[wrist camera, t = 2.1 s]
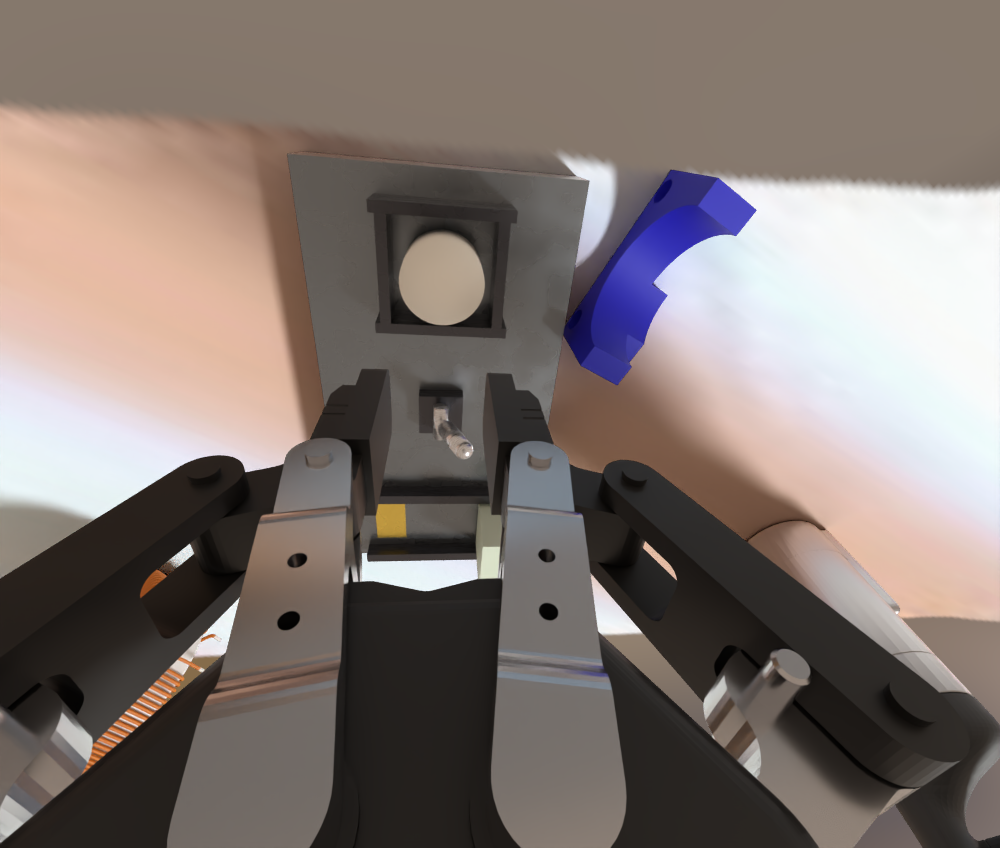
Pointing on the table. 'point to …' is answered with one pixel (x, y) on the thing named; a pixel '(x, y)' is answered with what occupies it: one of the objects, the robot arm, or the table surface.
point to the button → (442, 277)
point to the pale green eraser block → (488, 542)
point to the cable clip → (648, 269)
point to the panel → (429, 347)
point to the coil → (151, 697)
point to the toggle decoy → (450, 432)
